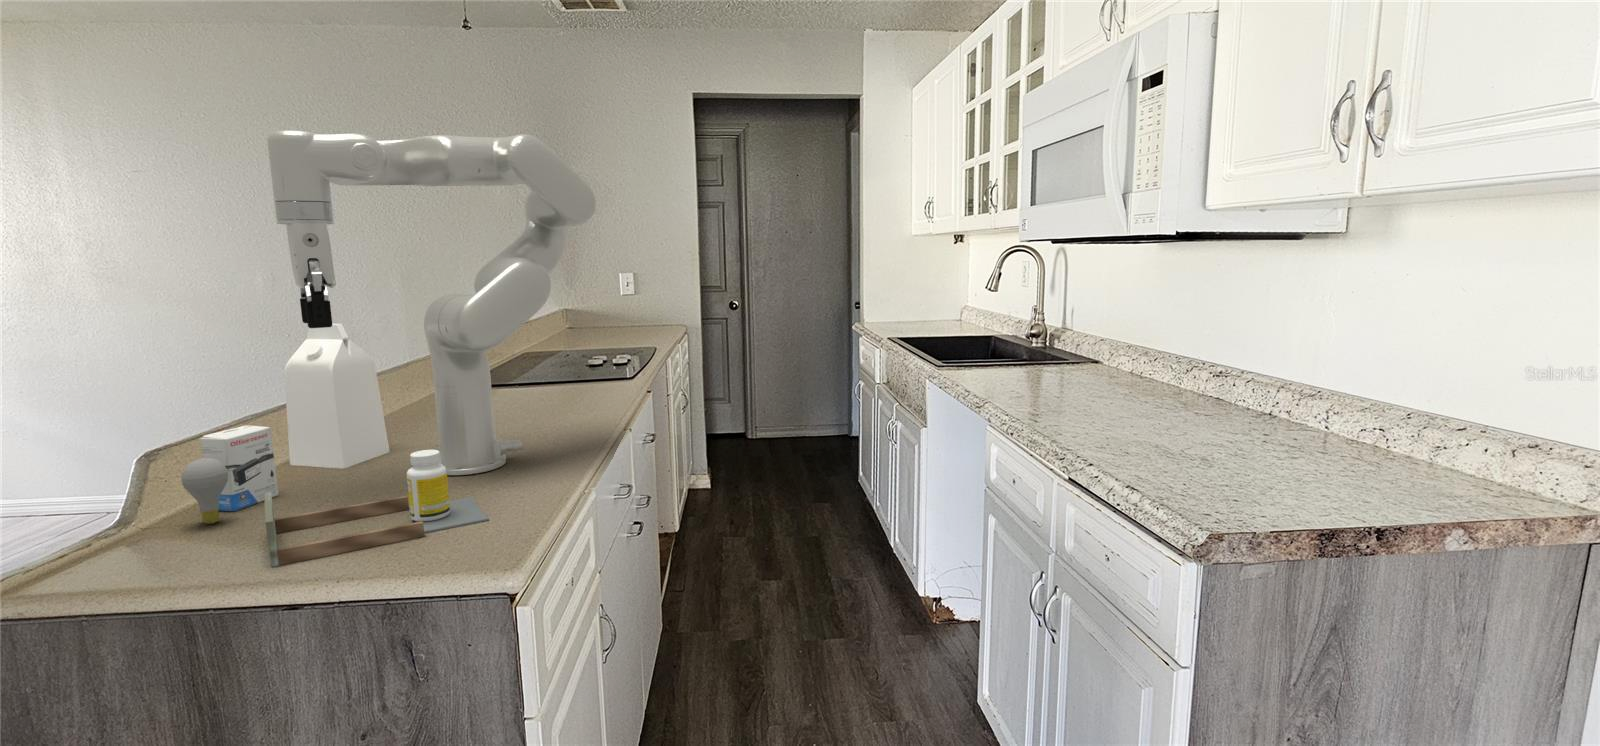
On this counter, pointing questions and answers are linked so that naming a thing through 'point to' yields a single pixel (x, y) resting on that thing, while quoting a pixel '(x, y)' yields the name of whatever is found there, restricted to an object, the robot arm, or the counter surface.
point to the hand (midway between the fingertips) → (317, 324)
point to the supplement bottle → (427, 486)
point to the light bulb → (206, 485)
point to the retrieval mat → (457, 516)
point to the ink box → (243, 464)
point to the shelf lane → (339, 543)
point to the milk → (333, 402)
